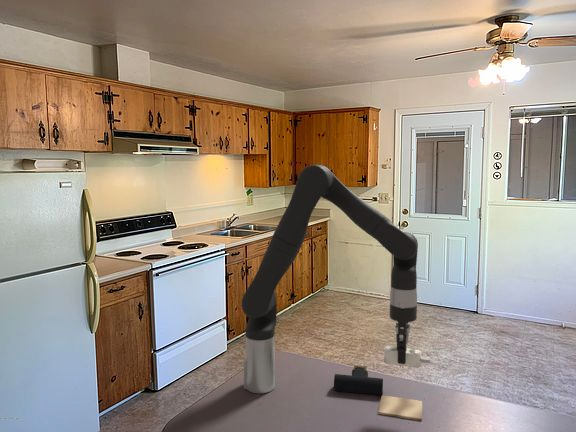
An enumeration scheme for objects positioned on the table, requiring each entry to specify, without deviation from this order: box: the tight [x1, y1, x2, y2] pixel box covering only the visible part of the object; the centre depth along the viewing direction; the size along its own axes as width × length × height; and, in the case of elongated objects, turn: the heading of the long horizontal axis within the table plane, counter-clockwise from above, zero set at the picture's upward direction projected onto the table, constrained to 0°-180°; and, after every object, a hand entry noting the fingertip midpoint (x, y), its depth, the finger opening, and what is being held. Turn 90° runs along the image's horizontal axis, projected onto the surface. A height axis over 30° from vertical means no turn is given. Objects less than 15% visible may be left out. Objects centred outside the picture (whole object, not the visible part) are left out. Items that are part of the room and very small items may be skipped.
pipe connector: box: [333, 364, 384, 396], centre depth 145 cm, size 12×5×15 cm
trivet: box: [377, 394, 423, 422], centre depth 131 cm, size 12×10×1 cm
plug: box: [383, 345, 431, 369], centre depth 130 cm, size 13×4×4 cm, turn 73°
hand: (401, 360), depth 130 cm, fingers closed on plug, 3 cm apart
